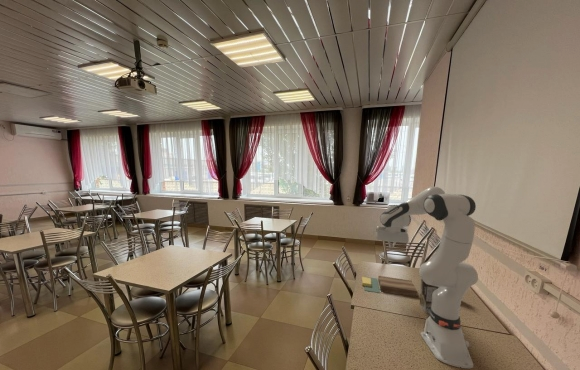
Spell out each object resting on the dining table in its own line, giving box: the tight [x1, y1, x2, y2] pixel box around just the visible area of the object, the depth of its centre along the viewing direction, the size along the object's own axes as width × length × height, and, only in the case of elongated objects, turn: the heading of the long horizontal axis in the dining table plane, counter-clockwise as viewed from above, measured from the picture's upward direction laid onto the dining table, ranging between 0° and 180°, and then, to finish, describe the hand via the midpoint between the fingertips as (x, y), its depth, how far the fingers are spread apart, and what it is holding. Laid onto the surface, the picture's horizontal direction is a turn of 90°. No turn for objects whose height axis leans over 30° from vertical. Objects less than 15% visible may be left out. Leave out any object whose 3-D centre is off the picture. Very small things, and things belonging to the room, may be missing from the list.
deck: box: [377, 275, 418, 298], centre depth 152 cm, size 14×22×4 cm, turn 74°
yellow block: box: [361, 276, 372, 287], centre depth 158 cm, size 9×6×2 cm, turn 164°
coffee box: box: [419, 279, 439, 315], centre depth 130 cm, size 9×6×16 cm
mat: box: [362, 275, 381, 294], centre depth 157 cm, size 20×10×1 cm, turn 164°
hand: (391, 247), depth 151 cm, fingers closed
